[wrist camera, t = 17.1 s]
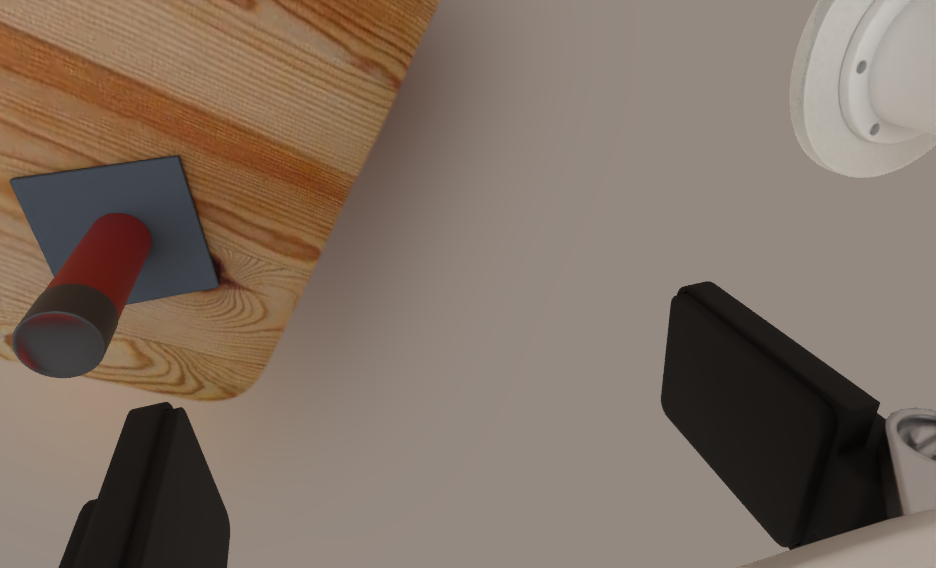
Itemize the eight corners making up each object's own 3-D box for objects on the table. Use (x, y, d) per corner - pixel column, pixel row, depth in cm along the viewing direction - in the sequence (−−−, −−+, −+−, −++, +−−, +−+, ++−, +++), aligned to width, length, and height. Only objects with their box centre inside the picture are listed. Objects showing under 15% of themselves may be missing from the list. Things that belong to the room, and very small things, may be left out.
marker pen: (142, 207, 32) (87, 303, 22) (160, 258, 33) (116, 368, 24) (79, 217, 31) (-4, 320, 22) (101, 268, 33) (32, 386, 23)
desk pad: (178, 154, 31) (177, 156, 31) (219, 284, 35) (219, 287, 35) (11, 178, 30) (8, 180, 29) (73, 311, 34) (71, 315, 33)
